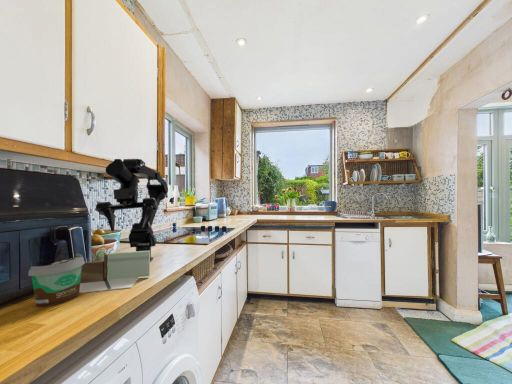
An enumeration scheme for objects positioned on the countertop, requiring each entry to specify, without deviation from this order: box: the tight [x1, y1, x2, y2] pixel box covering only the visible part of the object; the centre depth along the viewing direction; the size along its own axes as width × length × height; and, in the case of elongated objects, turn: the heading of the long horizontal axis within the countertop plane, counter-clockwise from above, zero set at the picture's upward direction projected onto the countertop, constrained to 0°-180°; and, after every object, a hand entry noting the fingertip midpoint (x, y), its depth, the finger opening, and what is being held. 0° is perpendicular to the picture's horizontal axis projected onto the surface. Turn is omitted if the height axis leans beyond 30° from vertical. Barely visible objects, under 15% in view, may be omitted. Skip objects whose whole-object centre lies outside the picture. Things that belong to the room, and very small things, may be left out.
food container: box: [27, 253, 86, 308], centre depth 60 cm, size 12×6×10 cm, turn 168°
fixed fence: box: [80, 253, 109, 283], centre depth 72 cm, size 1×8×8 cm, turn 104°
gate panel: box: [107, 250, 151, 280], centre depth 74 cm, size 1×12×8 cm, turn 104°
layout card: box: [79, 277, 140, 294], centre depth 72 cm, size 14×18×1 cm
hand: (127, 229), depth 79 cm, fingers open, 9 cm apart
